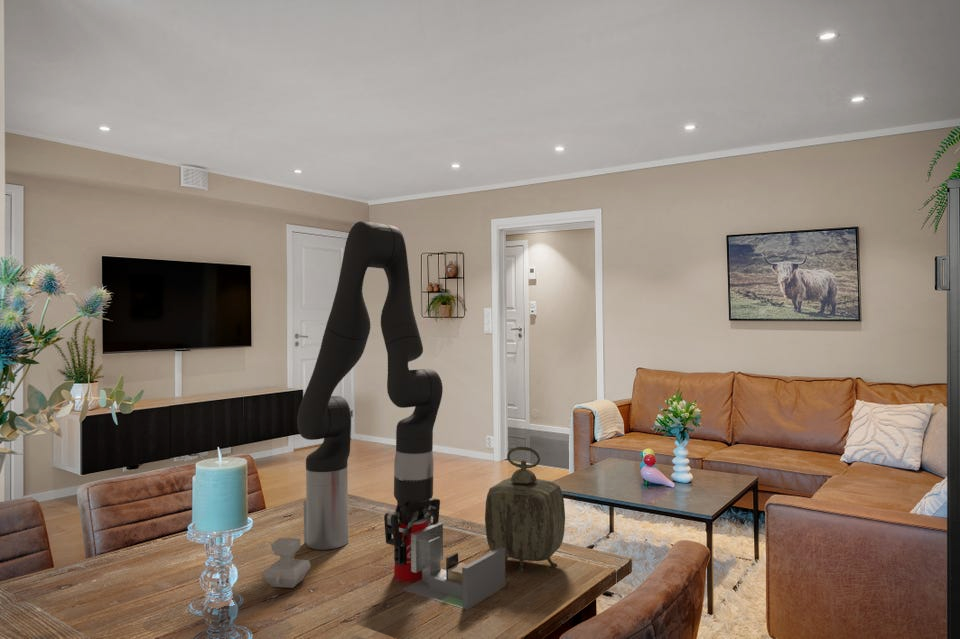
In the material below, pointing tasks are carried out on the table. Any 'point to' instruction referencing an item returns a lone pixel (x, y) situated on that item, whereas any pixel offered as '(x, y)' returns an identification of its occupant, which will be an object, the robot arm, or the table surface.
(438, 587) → the base
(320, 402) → the robot arm
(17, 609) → the table surface
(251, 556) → the table surface
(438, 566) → the plunger
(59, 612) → the table surface
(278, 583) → the stamp
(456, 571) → the wooden cube
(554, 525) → the tabletop clock
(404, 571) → the beverage can
